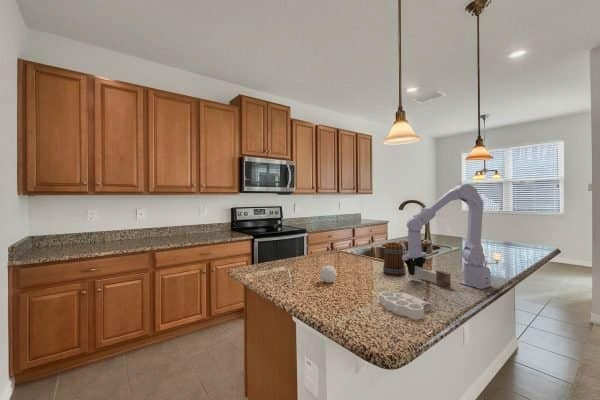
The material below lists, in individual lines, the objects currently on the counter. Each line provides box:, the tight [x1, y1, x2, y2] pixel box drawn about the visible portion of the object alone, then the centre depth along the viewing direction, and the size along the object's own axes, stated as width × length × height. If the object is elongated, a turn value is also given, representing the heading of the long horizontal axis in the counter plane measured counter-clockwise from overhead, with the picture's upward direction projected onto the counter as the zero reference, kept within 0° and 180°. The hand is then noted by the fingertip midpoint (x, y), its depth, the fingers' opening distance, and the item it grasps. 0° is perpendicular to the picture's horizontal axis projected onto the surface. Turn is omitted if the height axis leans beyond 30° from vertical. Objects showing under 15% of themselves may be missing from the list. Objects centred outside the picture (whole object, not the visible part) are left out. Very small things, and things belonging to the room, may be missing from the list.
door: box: [422, 269, 436, 283], centre depth 125 cm, size 12×2×4 cm, turn 28°
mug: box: [382, 241, 406, 277], centre depth 140 cm, size 16×11×15 cm
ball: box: [319, 265, 338, 284], centre depth 126 cm, size 8×8×8 cm
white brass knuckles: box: [378, 291, 433, 320], centre depth 95 cm, size 3×18×15 cm
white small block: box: [407, 266, 424, 281], centre depth 124 cm, size 5×4×5 cm
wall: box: [435, 269, 452, 289], centre depth 116 cm, size 6×2×6 cm, turn 28°
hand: (415, 274), depth 124 cm, fingers closed on white small block, 4 cm apart
